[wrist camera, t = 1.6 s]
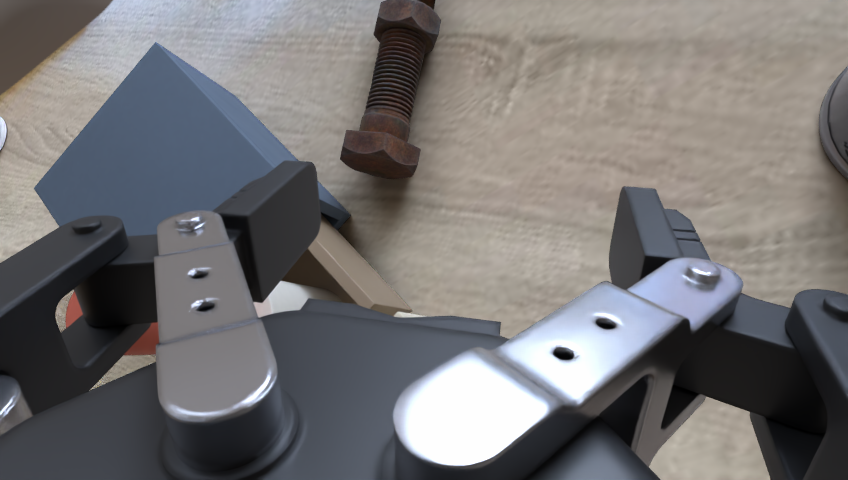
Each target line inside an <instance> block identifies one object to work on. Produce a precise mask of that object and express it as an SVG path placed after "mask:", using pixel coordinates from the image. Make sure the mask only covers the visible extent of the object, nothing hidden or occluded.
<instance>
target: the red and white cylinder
mask: <svg viewBox="0 0 848 480" xmlns="http://www.w3.org/2000/svg"><path fill="white" fill-rule="evenodd" d="M308 298H311V299H319V300H327V301H335V302H342V301H341V300H340V298H339V297H338V296H337V295H335V294H334V293H332V292H330V291H328V290H325V289H321V288H316V287H311V286H306V285H300V284H295V283H290V282H285V281H280V282H279V283H278V285H277V286H276V287H275V288H274V290H273V291H272V292H271V293H270V294H269V296H268V297H267V298H266V299H265V301H264V302H263V303H258V302H253V303H254V306H255V309H256V312H257V315H258V317H262V316H266V315H269V314H273V313H279V312H284V311H293V310H300V309H301V308H302V306H303V305H304V304H305V302H306V301H307V299H308ZM81 315H83V313H82V310H81V308H80V305H79V302H78V300H77V297H76V294H75V292H74V293H73V294H72V296H71V298H70V301H69V304H68V307H67V312H66V328H67V327H68V326H70V325H71V324H72V323H73V322H74V321H76V320H77V319H78V318H79V317H80V316H81ZM158 343H159V332H158V322H156V323H151V326H150V328H149V329H148V330H147V331H146V332H145V333H144V334H143V335H142V336H141V337H140V338H139V339H138V340H137V341H136V342H135V344H134V345H133V346H132V347H131V348H130V349H129V350H128V351H127V352H126V353H125V354H124V355H156V344H158Z"/></svg>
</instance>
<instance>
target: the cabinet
mask: <svg viewBox="0 0 848 480" xmlns="http://www.w3.org/2000/svg"><path fill="white" fill-rule="evenodd" d="M285 160H290V161H298V160H297V159H296V158H295V157H294V156H293V155H292V154H291V153H290V152H289V151H288V150H287V149H286V148H285V147H284V145H283V144H282V143H281V142H280V141H279V140H278V139H277V138H276V137H275V136H274V135H273V134H272V133H271V132H270V131H269V130H268V129H267V128H266V127H265V126H264V125H263V124H262V123H261V122H260V121H259V120H258V119H257V118H256V117H255V116H254V115H253V114H252V113H251V111H250V110H249V109H248V108H247V107H246V106H245V105H244V104H243V103H242V102H241V101H240V100H239V99H238V98H237V97H236V96H235V95H233V94H232V93H230V92H229V91H228V90H226V89H225V88H223V87H222V86H220V85H219V84H217V83H216V82H214V81H213V80H211V79H210V78H208V77H207V76H205V75H204V74H202V73H201V72H200V71H198V70H197V69H195V68H194V67H192V66H191V65H189V64H188V63H186V62H185V61H183V60H182V59H180V58H179V57H177V56H176V55H174V54H173V53H171V52H170V51H169V50H167V49H166V48H164V47H163V46H161V45H160V44H158V43H157V42H155V43H154V45H153V46H152V47H151V48H150V49H149V51H148V52H147V53H146V54H145V55H144V57H143V58H142V59H141V60H140V61H139V63H138V64H137V65H136V66H135V67H134V69H133V70H132V71H131V72H130V73H129V75H128V76H127V77H126V78H125V79H124V81H123V82H122V83H121V84H120V85H119V87H118V88H117V89H116V90H115V91H114V93H113V94H112V95H111V96H110V97H109V99H108V100H107V101H106V102H105V103H104V105H103V106H102V107H101V108H100V109H99V111H98V112H97V113H96V114H95V115H94V117H93V118H92V119H91V120H90V121H89V123H88V124H87V125H86V126H85V127H84V129H83V130H82V131H81V132H80V133H79V135H78V136H77V137H76V138H75V139H74V141H73V142H72V143H71V144H70V145H69V147H68V148H67V149H66V150H65V151H64V153H63V154H62V155H61V156H60V157H59V159H58V160H57V161H56V162H55V163H54V165H53V166H52V167H51V168H50V169H49V171H48V172H47V173H46V174H45V175H44V177H43V178H42V179H41V180H40V181H39V183H38V184H37V185H36V186H35V187H34V189H35V191H36V192H37V194H38V195H39V197H40V198H41V200H42V201H43V203H44V204H45V206H46V207H47V209H48V210H49V212H50V213H51V215H52V216H53V218H54V219H55V221H56V222H57V224H58V225H59V227H61V226H63V225H64V224H67V223H69V222H71V221H74V220H77V219H80V218H83V217H88V216H99V215H109V216H115V217H118V218H120V219H121V220H122V221H123V225H124V228H125V231H126V235H127V236H137V235H153V234H157V226H158V224H159V223H160V222H162V221H163V220H164V219H166V218H168V217H170V216H173V215H176V214H179V213H183V212H187V211H197V210H205V211H213V210H214V209H215V208H217V207H218V206H219V205H220V204H222V203H223V202H224V201H226V200H227V199H228V198H231V196H232V195H234V194H235V193H236V192H237V191H238V192H239V191H240V189H241V188H243V187H244V186H245V185H247V184H248V183H249V182H251V181H254V180H256V179H259V178H261V177H264V176H265V175H266V174H268V173H269V172H270V171H272V170H273V169H274V168H275V167H277V166H278V165H279V164H280V163H282V162H283V161H285ZM318 191H319V201H320V211H321V214H322V215H323V216H324V217H325V218H326V219H327V220H328V221H329V222H330V223H331V224H332V226H333V227H334V228H335V229H336V230H338V229H339V228H340V227H341V226H342V225H343V223H344V222H345V221H346V220H347V219H348V218H349V217H350V216H351V215H350V213H349V212H348V211H347V210H346V209H345V208H344V207H343V206H342V205H341V204H340V203H339V202H338V201H337V200H336V199H335V198H334V197H333V196H332V195H331V194H330V193H329V192H328V191H327V190H326V189H325V188H324V187H323V186H322V185H321V184H320V183H319V182H318Z"/></svg>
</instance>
